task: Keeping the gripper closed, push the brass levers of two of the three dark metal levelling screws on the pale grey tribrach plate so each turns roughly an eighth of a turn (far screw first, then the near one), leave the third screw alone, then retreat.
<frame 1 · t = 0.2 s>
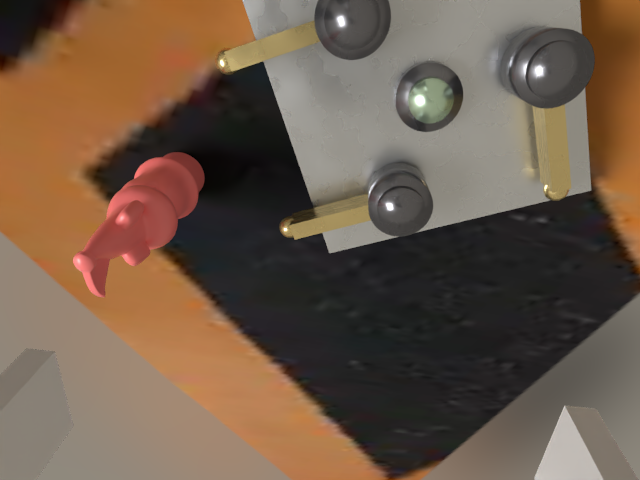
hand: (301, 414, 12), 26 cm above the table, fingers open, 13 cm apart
screw side: (551, 122, 29), point 4 cm above the table, hinge at 0.0°
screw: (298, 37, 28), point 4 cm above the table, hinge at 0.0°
tribrach plate: (422, 90, 33), on the table
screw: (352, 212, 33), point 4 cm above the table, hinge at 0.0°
figurine: (183, 175, 38), on the table
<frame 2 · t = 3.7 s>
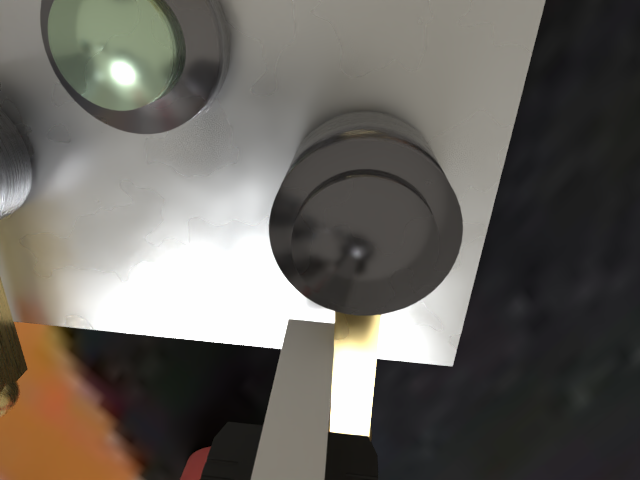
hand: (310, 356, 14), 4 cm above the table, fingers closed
tribrach plate: (176, 38, 14), on the table
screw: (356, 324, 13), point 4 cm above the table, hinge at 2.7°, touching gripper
figurine: (227, 469, 23), on the table
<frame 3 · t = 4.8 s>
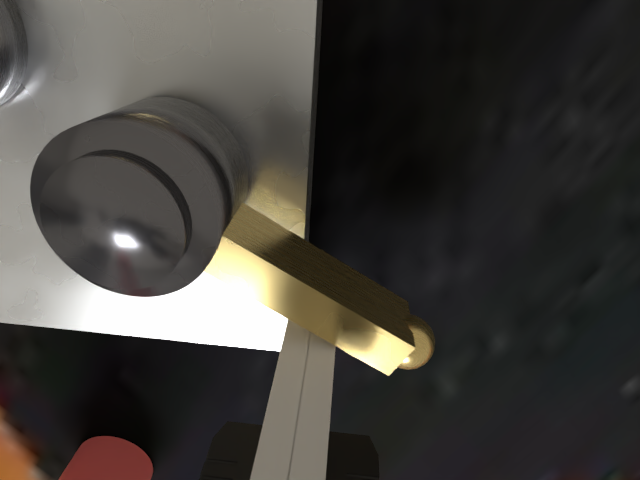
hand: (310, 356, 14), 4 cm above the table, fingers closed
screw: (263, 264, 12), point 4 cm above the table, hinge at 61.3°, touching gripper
figurine: (119, 459, 23), on the table
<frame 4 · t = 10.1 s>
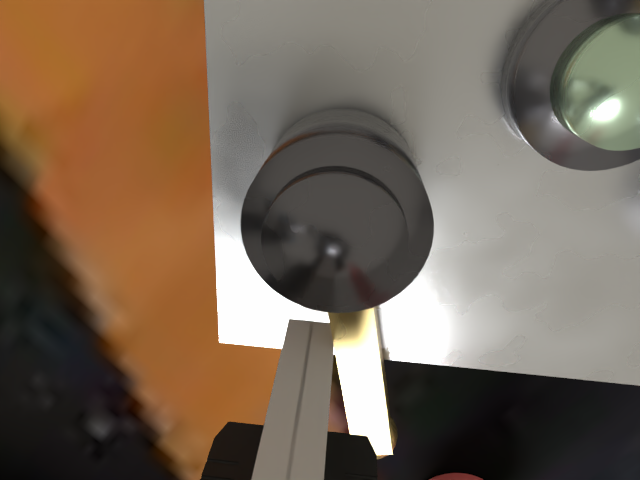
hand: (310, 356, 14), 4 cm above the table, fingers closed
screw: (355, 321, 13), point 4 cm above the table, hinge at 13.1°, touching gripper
tribrach plate: (559, 65, 13), on the table
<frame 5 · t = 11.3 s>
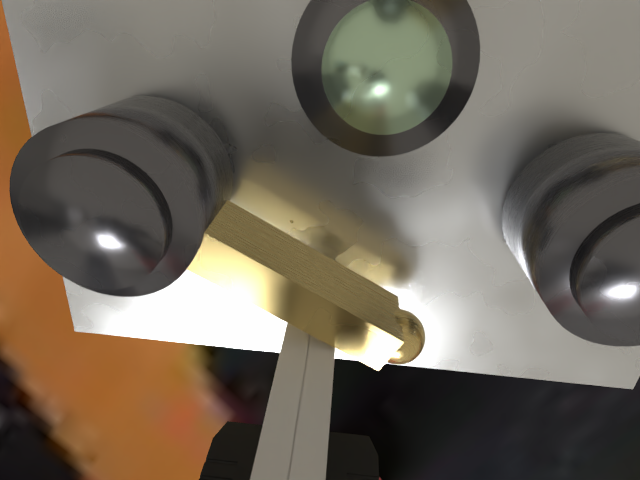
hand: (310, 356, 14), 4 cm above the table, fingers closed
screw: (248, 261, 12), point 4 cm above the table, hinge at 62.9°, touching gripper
tribrach plate: (378, 54, 14), on the table
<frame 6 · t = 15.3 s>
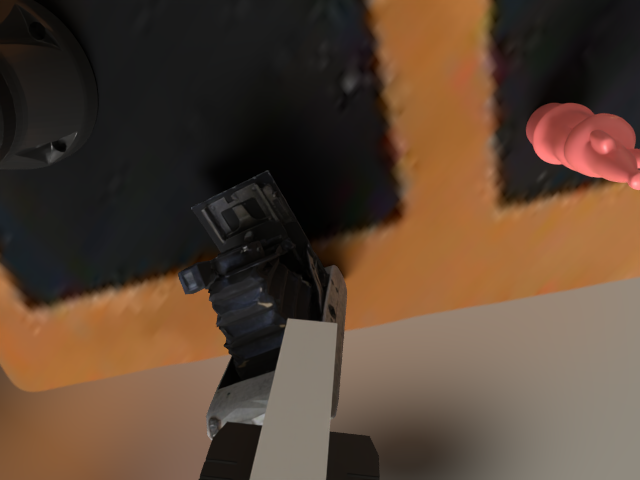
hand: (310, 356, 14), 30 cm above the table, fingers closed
vintage camera: (275, 241, 47), on the table
figurine: (550, 124, 40), on the table
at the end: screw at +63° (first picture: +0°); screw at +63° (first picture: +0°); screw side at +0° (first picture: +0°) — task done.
